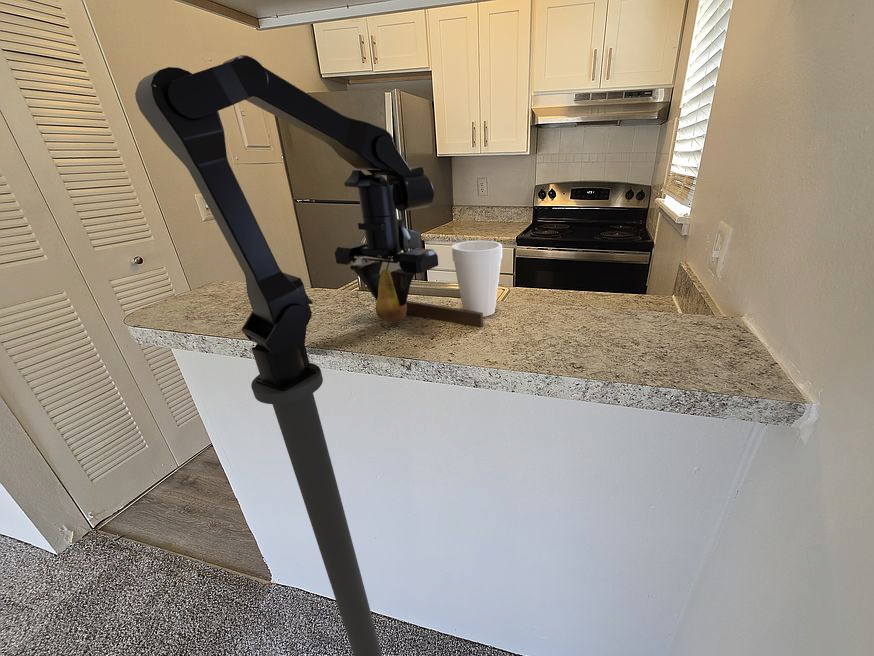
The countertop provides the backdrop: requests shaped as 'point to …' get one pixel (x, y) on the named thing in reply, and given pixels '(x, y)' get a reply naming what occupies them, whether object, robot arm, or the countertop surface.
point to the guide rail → (445, 313)
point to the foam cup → (478, 274)
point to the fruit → (388, 300)
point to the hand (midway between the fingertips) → (391, 303)
